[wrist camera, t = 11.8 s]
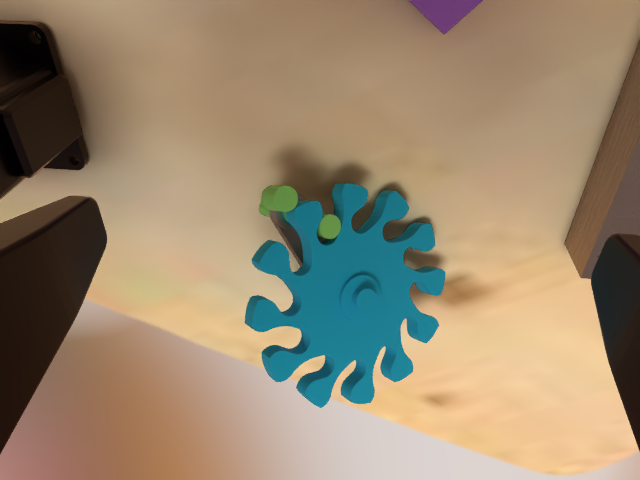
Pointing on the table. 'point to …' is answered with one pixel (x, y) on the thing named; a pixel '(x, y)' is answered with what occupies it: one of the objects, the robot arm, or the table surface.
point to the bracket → (445, 11)
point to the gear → (342, 290)
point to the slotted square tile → (611, 181)
